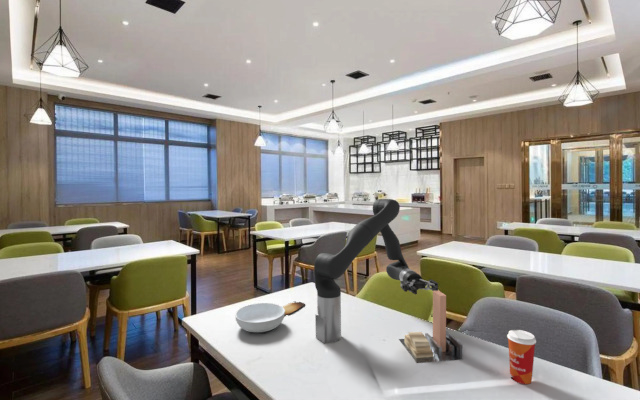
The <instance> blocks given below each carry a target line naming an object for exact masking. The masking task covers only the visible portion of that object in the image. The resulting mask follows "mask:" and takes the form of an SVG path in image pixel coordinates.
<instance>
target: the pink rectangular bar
mask: <svg viewBox="0 0 640 400" xmlns="http://www.w3.org/2000/svg"><path fill="white" fill-rule="evenodd" d="M446 331H447V295H446V294H445V293H443V292H442V291H440V289H438V291H432V337H433V339H434V340H435V341H436V342H437V343H438V344H439V345H440V346H441V347H442V352H445V351H446Z"/></svg>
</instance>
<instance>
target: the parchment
mask: <svg viewBox="0 0 640 400" xmlns="http://www.w3.org/2000/svg"><path fill="white" fill-rule="evenodd" d="M305 305H306V304H305V302H301V301H298V302H297V301H295V300H294V301H293V302H290V303H288V304H285V305H282V307H283V308H284V309H285V315H284V317H287V316H286V315H288V316H289V315H291V314H292V313H294V312H296V311H298V310H299V309H301V308H302V307H304V306H305Z"/></svg>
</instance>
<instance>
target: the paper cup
mask: <svg viewBox="0 0 640 400" xmlns="http://www.w3.org/2000/svg"><path fill="white" fill-rule="evenodd" d="M506 338H507V340H508V341H507V343H508V359H509V360H508V361H509V374H510V379H511V380H512V381H514V382H515V383H518V384H520V385H530V384H531V383H532V381H533V372H534V371H533V369H534V361H535V360H534V359H535V350H536V349H535V347H536V346H535V345H536V343H537V339H536V336H535V335H534V334H533V333H531V332H529V331H525V330H522V329H511V330H509V331H508V334H506Z"/></svg>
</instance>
